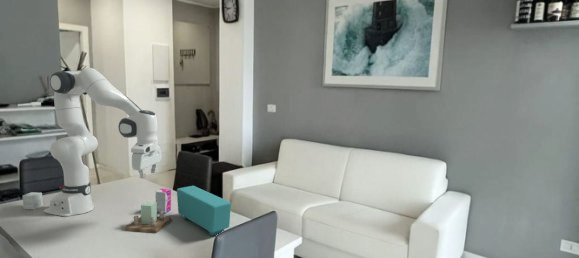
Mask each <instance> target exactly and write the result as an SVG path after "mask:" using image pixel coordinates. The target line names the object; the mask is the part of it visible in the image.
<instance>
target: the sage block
mask: <svg viewBox="0 0 579 258" xmlns="http://www.w3.org/2000/svg"><path fill="white" fill-rule="evenodd" d="M157 215H158V213H157V202H156V201H155V202H154V201H145V202H144V203H142V204H141V205H140V217H141V224H150V225H151V217H155V222H156V221H157Z"/></svg>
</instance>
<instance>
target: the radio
mask: <svg viewBox="0 0 579 258" xmlns="http://www.w3.org/2000/svg"><path fill="white" fill-rule="evenodd" d="M176 196H177V198H176V199H177V212H178V214H179V215H181V216H183V220H186V219H188V220H189V221H191V222H193V223H194V224H196V225H198V226H199V227H201V228H202V229H204V230H207V231H208V233H209V235H210V236H214V235H219V234H218V233H220V232H222V231H224V232H225V229H229V228H230V224H231V221H230V220H231V210H232V208H231V207H232V202H230V201H228V200H226V199H224V198H222V197H219V196H218V195H215V194H213V193H210V192H209V191H206V190H204V189H201V188H200V187H197V186H195V185H189V186H184V187H180V188H179V187H178V188H177V189H176ZM220 234H221V233H220Z"/></svg>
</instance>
